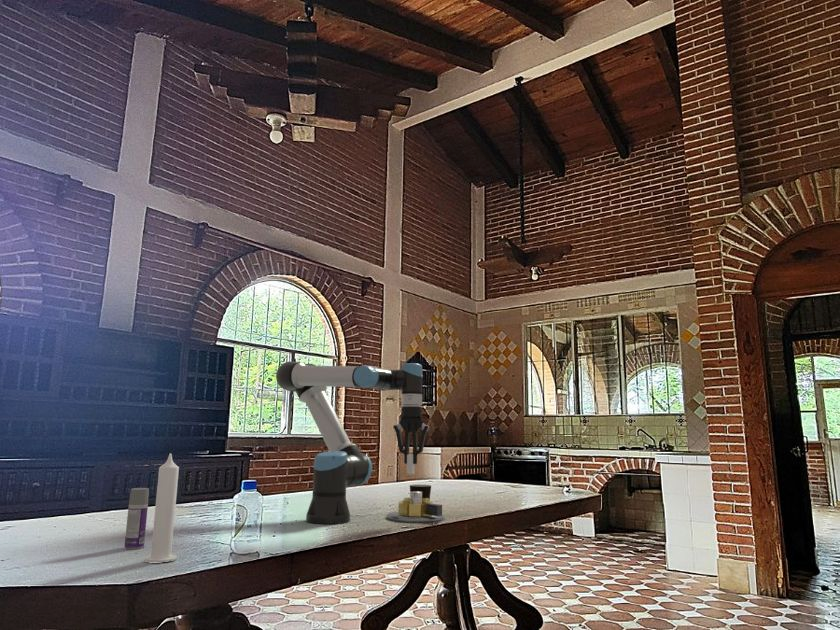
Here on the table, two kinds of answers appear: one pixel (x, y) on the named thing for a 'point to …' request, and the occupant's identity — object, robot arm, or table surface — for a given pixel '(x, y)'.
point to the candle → (164, 513)
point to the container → (136, 518)
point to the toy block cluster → (419, 508)
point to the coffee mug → (422, 490)
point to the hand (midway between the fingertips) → (410, 473)
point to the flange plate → (414, 499)
